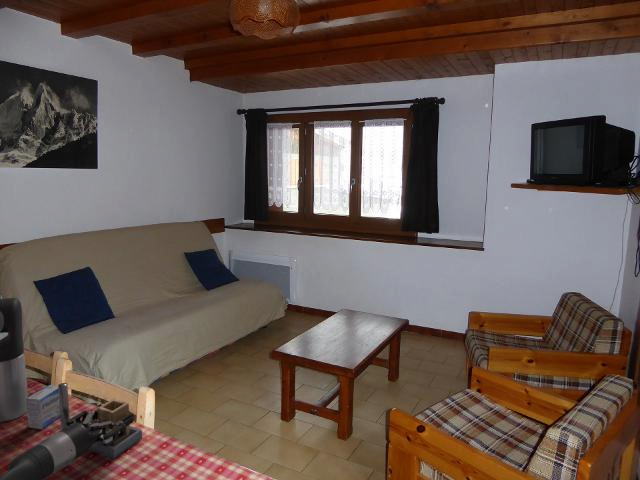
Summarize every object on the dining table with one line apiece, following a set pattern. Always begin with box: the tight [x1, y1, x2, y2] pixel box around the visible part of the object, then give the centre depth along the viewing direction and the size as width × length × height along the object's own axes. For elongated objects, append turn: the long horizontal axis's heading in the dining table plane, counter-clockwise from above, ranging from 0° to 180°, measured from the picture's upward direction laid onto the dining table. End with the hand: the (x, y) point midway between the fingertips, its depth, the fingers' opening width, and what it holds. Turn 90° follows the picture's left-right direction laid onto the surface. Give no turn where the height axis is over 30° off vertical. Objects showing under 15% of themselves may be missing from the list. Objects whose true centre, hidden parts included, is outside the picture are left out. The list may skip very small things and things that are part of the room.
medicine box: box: [26, 384, 60, 430], centre depth 123 cm, size 8×4×9 cm, turn 168°
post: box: [57, 382, 71, 430], centre depth 114 cm, size 2×2×16 cm
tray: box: [89, 425, 143, 460], centre depth 115 cm, size 9×9×2 cm
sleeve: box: [97, 398, 131, 447], centre depth 114 cm, size 5×5×10 cm
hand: (120, 412), depth 116 cm, fingers open, 8 cm apart
